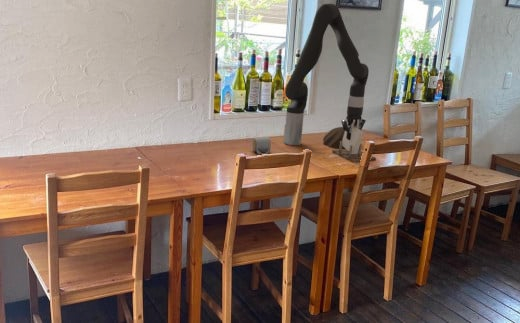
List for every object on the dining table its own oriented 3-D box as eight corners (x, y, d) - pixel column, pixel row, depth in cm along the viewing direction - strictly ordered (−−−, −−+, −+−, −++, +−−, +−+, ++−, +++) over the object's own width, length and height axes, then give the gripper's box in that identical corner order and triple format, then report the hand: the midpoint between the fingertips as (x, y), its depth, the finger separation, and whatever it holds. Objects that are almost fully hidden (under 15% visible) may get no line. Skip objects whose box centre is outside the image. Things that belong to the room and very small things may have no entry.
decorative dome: (318, 139, 274) (320, 122, 271) (352, 140, 277) (354, 123, 274) (326, 149, 256) (328, 130, 253) (362, 150, 258) (365, 132, 255)
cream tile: (341, 144, 247) (347, 123, 241) (345, 144, 248) (351, 123, 242) (352, 154, 239) (358, 132, 234) (357, 153, 241) (363, 132, 235)
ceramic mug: (251, 149, 245) (252, 135, 243) (266, 149, 247) (268, 135, 245) (256, 156, 236) (257, 141, 233) (272, 156, 238) (273, 141, 235)
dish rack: (331, 152, 250) (333, 139, 248) (353, 150, 256) (355, 137, 254) (353, 162, 235) (355, 148, 233) (376, 160, 241) (378, 146, 239)
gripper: (361, 103, 243) (357, 136, 248) (339, 104, 236) (335, 138, 241) (371, 106, 236) (367, 140, 242) (348, 107, 230) (344, 142, 235)
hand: (351, 139), depth 241 cm, fingers closed on cream tile, 3 cm apart
